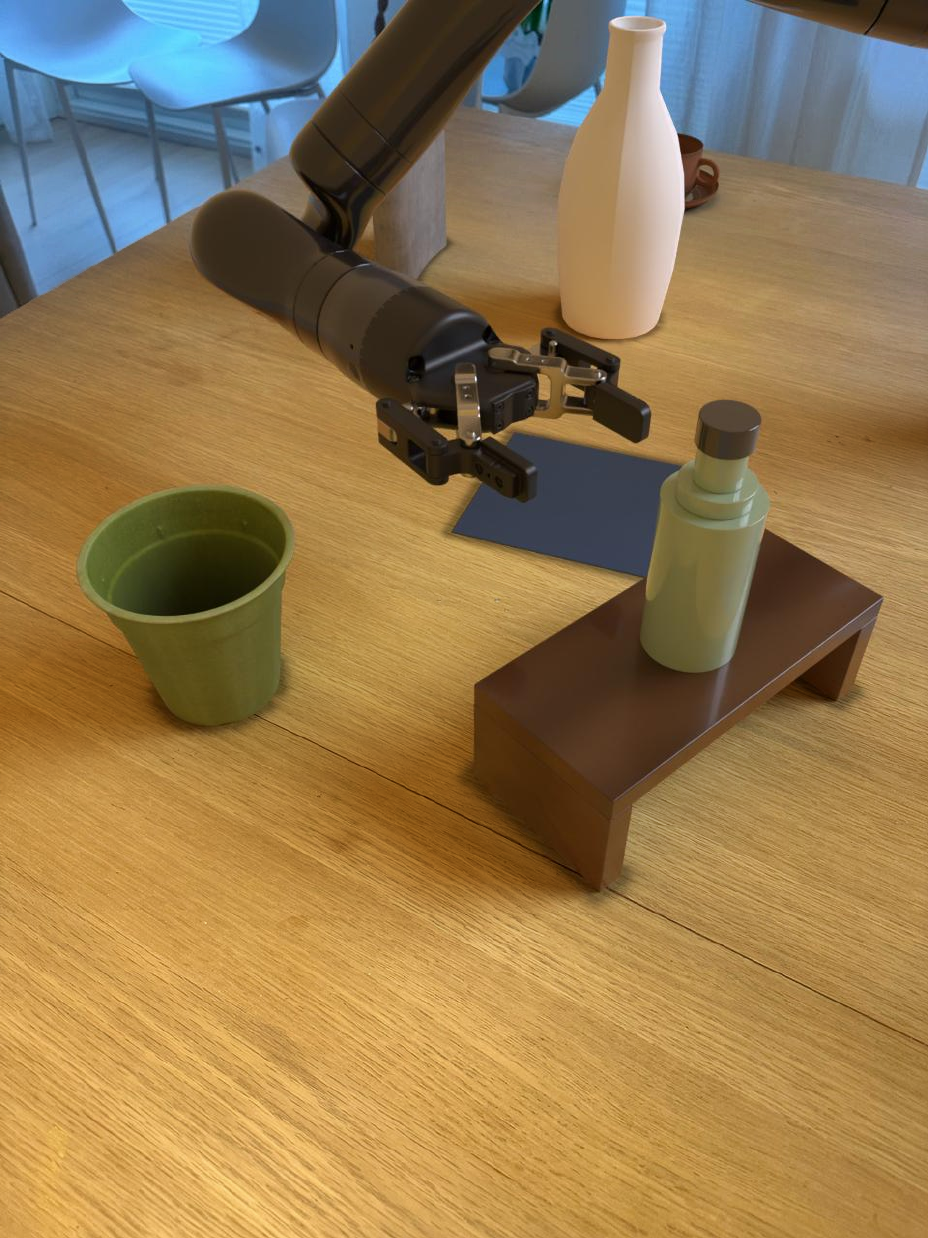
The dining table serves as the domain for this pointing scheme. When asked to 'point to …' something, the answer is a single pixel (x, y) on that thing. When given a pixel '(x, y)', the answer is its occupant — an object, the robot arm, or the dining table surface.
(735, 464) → the spice bottle
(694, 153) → the cup and saucer
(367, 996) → the dining table surface
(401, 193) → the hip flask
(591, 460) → the mat
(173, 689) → the plant pot
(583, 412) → the robot arm
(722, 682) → the shelf
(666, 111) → the bottle
